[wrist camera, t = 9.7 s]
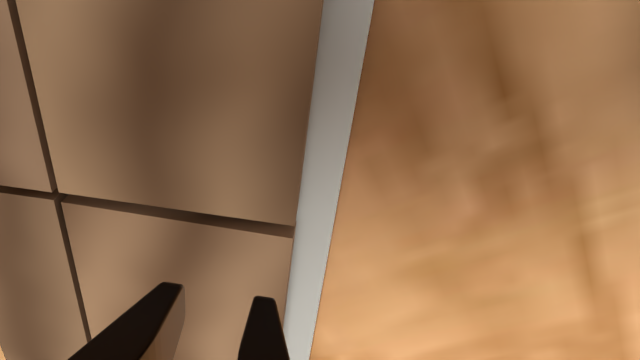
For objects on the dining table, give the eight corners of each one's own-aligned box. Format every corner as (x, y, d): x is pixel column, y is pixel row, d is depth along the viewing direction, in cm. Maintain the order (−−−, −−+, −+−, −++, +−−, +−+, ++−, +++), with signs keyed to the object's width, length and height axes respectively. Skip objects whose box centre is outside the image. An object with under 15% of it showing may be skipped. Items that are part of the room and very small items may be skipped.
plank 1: (332, -71, 14) (330, -69, 13) (297, 209, 20) (294, 226, 19) (14, -119, 14) (-12, -120, 13) (73, 177, 20) (58, 192, 19)
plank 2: (296, 221, 20) (292, 238, 19) (277, 371, 26) (274, 390, 25) (76, 186, 20) (60, 202, 19) (107, 343, 26) (96, 361, 25)
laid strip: (3, -189, 14) (-41, -199, 12) (110, 353, 28) (95, 379, 26) (-163, -214, 14) (-228, -228, 12) (28, 341, 27) (9, 368, 26)
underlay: (396, -129, 14) (397, -130, 13) (304, 379, 28) (303, 387, 27) (3, -189, 14) (-9, -192, 13) (110, 353, 28) (106, 360, 27)
